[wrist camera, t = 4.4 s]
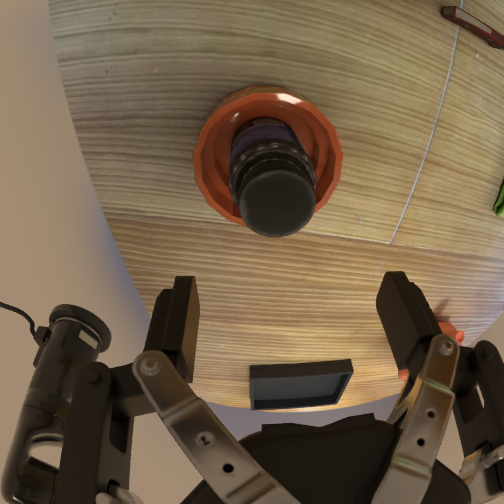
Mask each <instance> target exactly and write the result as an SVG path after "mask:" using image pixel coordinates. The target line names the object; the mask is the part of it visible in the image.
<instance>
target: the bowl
mask: <svg viewBox="0 0 504 504" xmlns="http://www.w3.org/2000/svg"><path fill="white" fill-rule="evenodd" d="M261 117H271V118H276V119H279V120H281V121H283V122H285V123H286V124H287V125H288V126H290V128H291V129H292V130H293V131H294V132H295V134H296V136H297V137H298V139H299V141H300V142H301V144H302V146H303V147H304V149H305V151H306V153H307V154H308V156H309V158H310V159H311V161H312V163H313V165H314V168H315V172H316V176H317V184H316V189H315V197H316V205H315V210H314V213H315V212H316V211H317V210H319V209H320V208H321V207H322V206H324V205H325V204H326V203H327V201H328V200H329V198H330V196H331V195H332V193H333V191H334V189H335V188H336V186H337V184H338V183H339V181H340V175H341V167H342V159H343V152H342V149H341V146H340V143H339V139H338V136H337V133H336V130H335V128H334V126H333V125H332V124H331V123H330V122H329V121H328V119H327V118H326V117H325V116H324V115H323V114H322V113H321V112H320V111H319V109H318V108H317V107H316V106H315V105H313V104H312V103H311V102H310V101H309V100H307V99H306V98H305V97H304V96H302V95H299V94H297V93H295V92H293V91H290V90H288V89H286V88H283V87H281V86H250V87H248V88H245V89H243V90H240V91H238V92H235V93H233V94H230V95H228V96H227V97H226V98H225V99H224V100H223V101H222V102H221V103H220V104H219V105H218V106H217V107H216V108H215V109H214V110H213V111H212V112H211V113H210V114H209V115H208V117H207V119H206V121H205V123H204V125H203V127H202V130H201V133H200V135H199V138H198V141H197V144H196V147H195V149H194V152H193V162H194V173H195V181H196V183H197V185H198V187H199V189H200V191H201V192H202V194H203V196H204V198H205V200H206V201H207V203H208V204H209V205H210V206H211V207H212V208H214V209H215V210H216V211H217V212H219V213H220V214H221V215H222V216H224V217H225V218H226V219H227V220H229V221H231V222H234V223H237V224H240V225H243V226H246V227H248V226H247V225H246V224H245V223H244V221H243V220H242V218H241V215H240V212H239V208H238V207H237V206H236V204H235V203H234V202H233V199H232V198H231V194H230V191H229V187H228V177H229V164H230V152H231V143H232V139H233V137H234V135H235V133H236V132H237V130H238V129H239V128H240V127H241V126H242V125H244V124H245V123H246V122H248V121H250V120H252V119H254V118H261ZM314 213H313V214H314Z"/></svg>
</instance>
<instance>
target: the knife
mask: <svg viewBox="0 0 504 504" xmlns="http://www.w3.org/2000/svg"><path fill="white" fill-rule="evenodd" d="M443 17H444V18H446V19H448V20H450V21H452V22H454V23H456V24H458V25H460V26H462V27H464V28H466V29H468V30H469V31H471V32H473V33H474V34H477V35H478V36H480V37H481V38H483V39H484V40H486V41H488V44H489V45H490V46H491V47H493V48H497V49H503V50H504V36H503V35H501V34H500V33H498V32H497V31H495V30H494V29H492V28H491V27H489V26H488V25H486V24H485V23H483V22H482V21H480V20H478V19H477V18H475V17H473V16H471V15H470V14H468V13H467V12H465V11H463V10H462V9H460V8H458V7H456V6H446V7H444V11H443Z"/></svg>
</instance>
